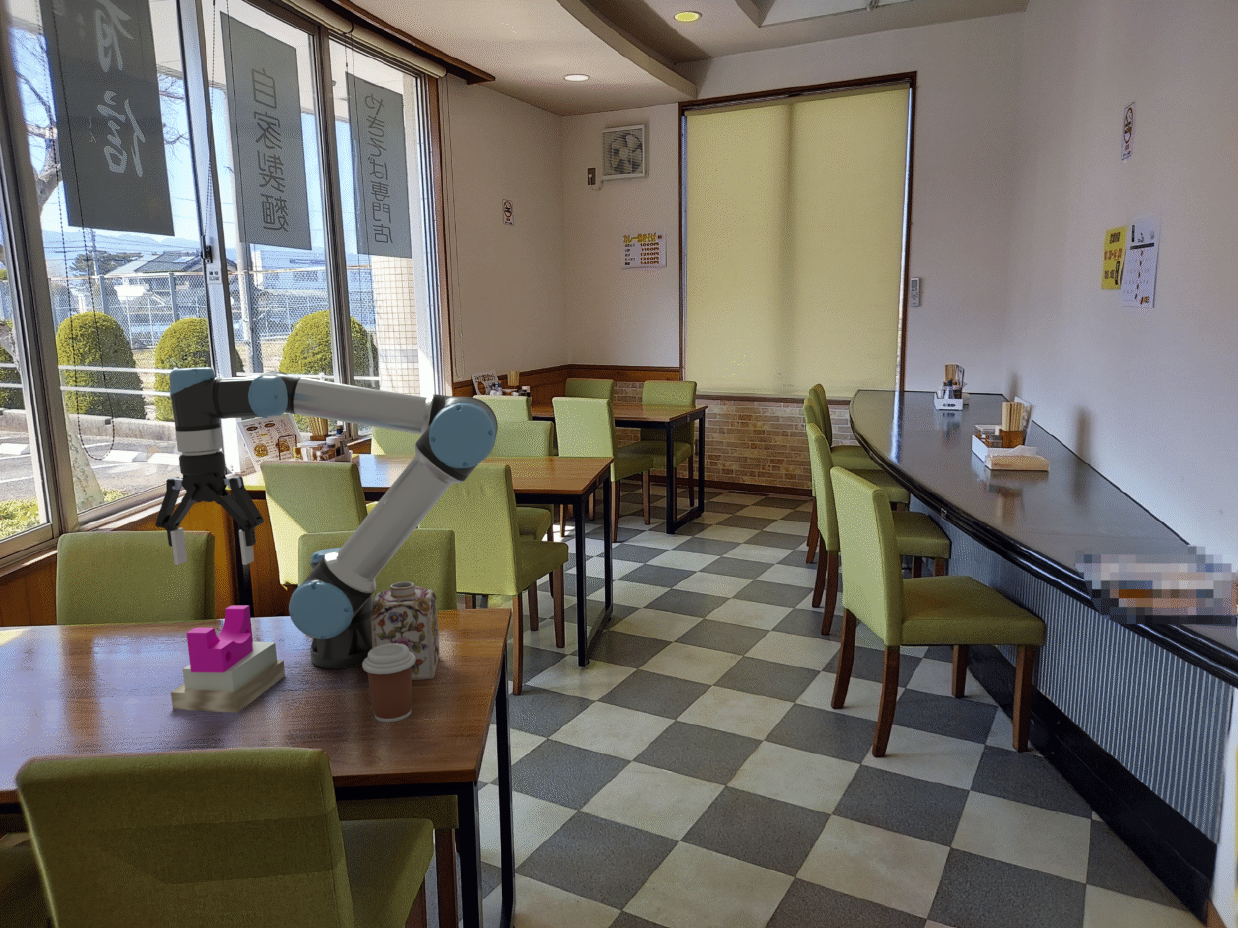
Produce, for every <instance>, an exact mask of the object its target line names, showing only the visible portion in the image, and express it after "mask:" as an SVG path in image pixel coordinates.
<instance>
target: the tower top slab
mask: <svg viewBox="0 0 1238 928" xmlns="http://www.w3.org/2000/svg"><path fill="white" fill-rule="evenodd" d="M252 647H253V651H252V652H250V653H249V654H248V655H246V656H245V657H244V658H242V659H241V660H240V661H238V662H237V663H236V664H234V665H233V666H232V667H230V668H229V669H228V670H226V671H225V672H191V668H190V663H189V664H188V665H187V666H184V667H183V668H182V676H183V684H184V685H185V689H193V690H210V691H227V692H234V691H236V690H237V689H239V688H240V687H241V686H243V685H244V684H246V683H247V682H249V681H250V680H251V679H253V678H254V677H256V676H257V675H259V674H260V673H261V672H263V671H264V670H266V669H267V668H269V667H270V666H271V665H273V664H274V663H276V662H277V660H278V656H277V646H276V642H275V641H273V642H272V641H254V640H253V642H252Z"/></svg>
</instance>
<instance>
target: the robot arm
mask: <svg viewBox="0 0 1238 928" xmlns="http://www.w3.org/2000/svg"><path fill="white" fill-rule="evenodd" d="M216 376H217V375H216V374H215V370H214V369H213V368H212V367H186V368H185V367H184V368H176V369H173V370H172V371H171V372H170V374H169V391H170V393H169V397H170V400H171V407H172V414H173V420H174V430H175V440H176V446H177V447H176V448H177V452H179V453H181V454H180V455H179V456H178V462H179V463H178V464H179V471H180V473H181V475H182V478H180V477H179V476H174V477H171V478H168V479H167V480H166V483H165V485H166V487H165V488H166V491H165V494H164V497H163V500H162V503H161V506H160V508H159V512H158V514H157V517H156V521H155V523H154V524H155V526H156V527H157V528H161V529H162V528H163V529H164V530H166V533H167V534H166V535H167V541H168V545H169V547H172V552H173V554H172V555H173V563H174V565H175V566H177V565H178V566H180V565H181V564H183V563H186V562H188V555H187V548H186V540H185V533H184V531H185V530H184V527H181V523H182V521H183V520H184V519H185V517H186V516H187V514H188V513H189V512H190V510H191V509H192V507H193V506H194V504H195V503H202V502H206V503H213V502H215V503H216V504H217V505H220V506H221V507H222V508H223V509H224V510H225V511H226V512H227V514H228V515H229V516H230V517H231V518H232V519H233V520H234V522H236V523H237V525H239V527H241V529H239V530H238V538H239V546H240V553H241V554H240V555H241V563H242V565H248V564H250V563H252V562H255V555H254V548H253V546H254V545H256V541H257V540H256V531H255V528H256V527H257V526H260V525H262V524H263V523H265V519H264V517H263V516H262V514H261V513H260V511H259V509H258V507H257V506H256V504H255V502H254V501H253V499H252V497H251V496H250V494H249V492H248V491H247V489H246V487H245V483H244V479H243V477H242V476H241V475H236V476H233V477H229V478H227V476H226V474H225V473H226V462H225V453H224V452H223V450H221V449H222V448H223V447H224V446H223V436H222V429H221V428H222V427H221V422H220V421H221V419H223V420H225V419H241V418H242V419H243V418H245V419H247V418H262V419H263V418H264V419H267V418H271V417H279V416H283V415H284V414H291V415H292V414H293V415H300V416H307V417H312V418H318V419H325V420H331V421H335V422H342V423H350V424H354V425H360V426H362V425H363V426H365V427H366V426H367V427H374V428H379V429H385V430H392V431H398V432H404V433H411V434H414V435H415V434H417V435H421V436H420V437H419V438H418V440H417V441H416V442H415V443H414V445H413V446H414V450H415V451H414V452H415V455H414V458H412V459H411V461H410V462H409V463H408V464H407V466H405V469H403V471H402V472H401V473H400V475H399V476H398V477H397V479H395V481H394V482H393V483H392V485H391V486H390V487H389V488H388V489H387V491H386V492H385V493H384V495H382V497H381V498H380V499H379V500H378V502H377V503H376V504H375V506H374V507H373V508H372V510H371V511H370V512H368V514H367V515H366V517H364V519H363V520H362V522H361V523H360V524H359V526H358V527H357V528H356V529H355V530H354V532H353V533H352V534H351V535H350V536H349V538H348V539H347V540H346V541H345V543H344V544H343V545H341V547H336V548H327V549H326V548H325V549H321V550H317V551H315V552H312V554H311V555H310V562H309V565H310V566H311V567H310V568H311V572H309V574H308V576H306V578H305V579H304V580H303V582H302V583H301V584H300V585H298V586H297V587H296V588H295V589H294V590H293V592H292V595H291V597H290V601H289V604H288V612H289V616H290V620H291V621H292V623H293V625H294V626H295V628H297V630H298V631H300V632H301V633H303V634H304V635H306V636H308V637H310V638H312V641H311V645H310V661H311V663H312V664H313V665H314V666H317V667H320V668H324V669H346V668H353V667H359V666H362V663H363V661H364V660H365V658H367V657H368V652H369V651H370V650H371V649H372V631H371V620H370V617H371V610H372V604H373V598H374V592H375V591H376V590H377V583H376V582H377V581H376V577H377V576H378V575H379V574H380V572H382V570H383V569H384V567H386V565H387V564H388V563H389V561H390V560H391V559H392V557H394V556H395V554H396V553H397V552H398V550H399V549H400V548H401V547H402V546H403V544H405V541H407V539H408V538H409V537H410V536H411V535H412V533H413V532H414V531H415V530H416V529H417V528H418V526H419V525H420V524H421V522H422V521H423V520H424V518H425V517H427V515H428V514H429V513H430V512H431V510H432V509H433V507H435V506H436V504H437V503H438V501H439V500H440V499H441V497H443V496H444V494H445V493H446V492H447V490H448V489H449V488H450V487H451V486H452V485H453V484H460V483H461V484H462V483H464V482H465V481H466V479H468V477H469V476H470V475H471V474H472V473H473V471H474V470H475V469H476V468H477V466H478V465H479V464H480V463H481V462H482V461H485V460H486V459H487V457H488V456H489V455H490V454H491V452H492V450H493V449H494V447H495V443H496V438H497V434H498V429H499V427H498V426H499V425H498V420H497V416H496V414H495V412H494V411H493V409H492V407H491V406H490V405H488V403H487V402H485V401H483V400H481V399H479V398H475V397H472V396H471V397H470V396H454V395H453V396H451V395H442V394H438V393H437V394H436V393H434V394H432V395H431V396H428V397H425V396H424V397H423V396H418V395H411V394H407V393H399V392H394V391H387V390H381V389H375V388H369V387H363V386H357V385H351V384H346V383H339V382H334V381H326V380H322V379H321V380H320V379H315V378H308V377H303V376H302V377H301V376H296V375H290V374H288V373H286V372H283V371H279V370H278V371H275V370H271V371H267V372H264V373H260V374H256V375H249V376H239V377H238V376H237V377H216ZM226 488H228V489H230V491H231V493H232V494H231V493H230V492H229V491H228V490H227V489H226ZM182 489H183V490H184V491H185V493H184V495H183V497H182V498H181V500H180V502H179V505H178V506H177V507H176V504H177V501H178V499H179V495H180V494H181V490H182ZM232 495H233V496H234V498H235V499H234V498H232V497H233V496H232ZM236 501H237V502H236ZM175 508H176V509H175Z"/></svg>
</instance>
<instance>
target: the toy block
mask: <svg viewBox="0 0 1238 928" xmlns="http://www.w3.org/2000/svg"><path fill="white" fill-rule="evenodd" d="M250 612H251V611H250V605H235V604H234V605H230V606H227V607H225V614H224V615H225V616H224V622H223V625H222V629H221V630H220V632H219V634H218V635H217V631H216V629H215V627H194V628H192V629H191V630H189V631H187V632H186V641H187V648H188V657H189V659H188V660H189V664H190V668H191V672H225V671H226V670H228V669H229V668H230V667H232V666H233V665H234V664H236V663H237V662H238V661H240V660H241V659H242V658H244V657H245V656H246V655H248V654H249V653H250V652H252V651H253V647H252V642H253V641H254V639H253V631H252V630H253V628H252V620H251V613H250Z"/></svg>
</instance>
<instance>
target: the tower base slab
mask: <svg viewBox="0 0 1238 928" xmlns="http://www.w3.org/2000/svg"><path fill="white" fill-rule="evenodd" d="M285 669H286V668H285V661H284V660H282V659H281V660H280V659H277V662H276V663H274V664H273V665H271V666H270V667H269V668H267V669H266V670H264V671H263V672H261V673H260V674H259V675H257V676H256V677H254V678H253V679H251V680H250V681H249V682H247V683H246V684H244V685H243V686H241V687H240V688H239V689H237V690H236V691H234V692H227V691H210V690H193V689H185V685H184V683H183V684H181V685H180V686H178V687H176V688H175V689H174V690H172V691H171V692H170V696H171V705H172V710H178V709H186V710H185V711H198V710H201V712H220V713H239V712H240V711H242V710H243V709H244V708H245V707H247V706H248V705H249V704H251V703H252V702H253V701H255V700H256V699H257V698H258V697H260V696H261V695H262V694H264V693H265V692H267V690H269V689H270V688H271V687H272V686H274V685H276V684H277V683H278V682H279V681H280V680H282V679H283V678H285V677H286V671H285ZM276 682H277V683H276Z"/></svg>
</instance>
